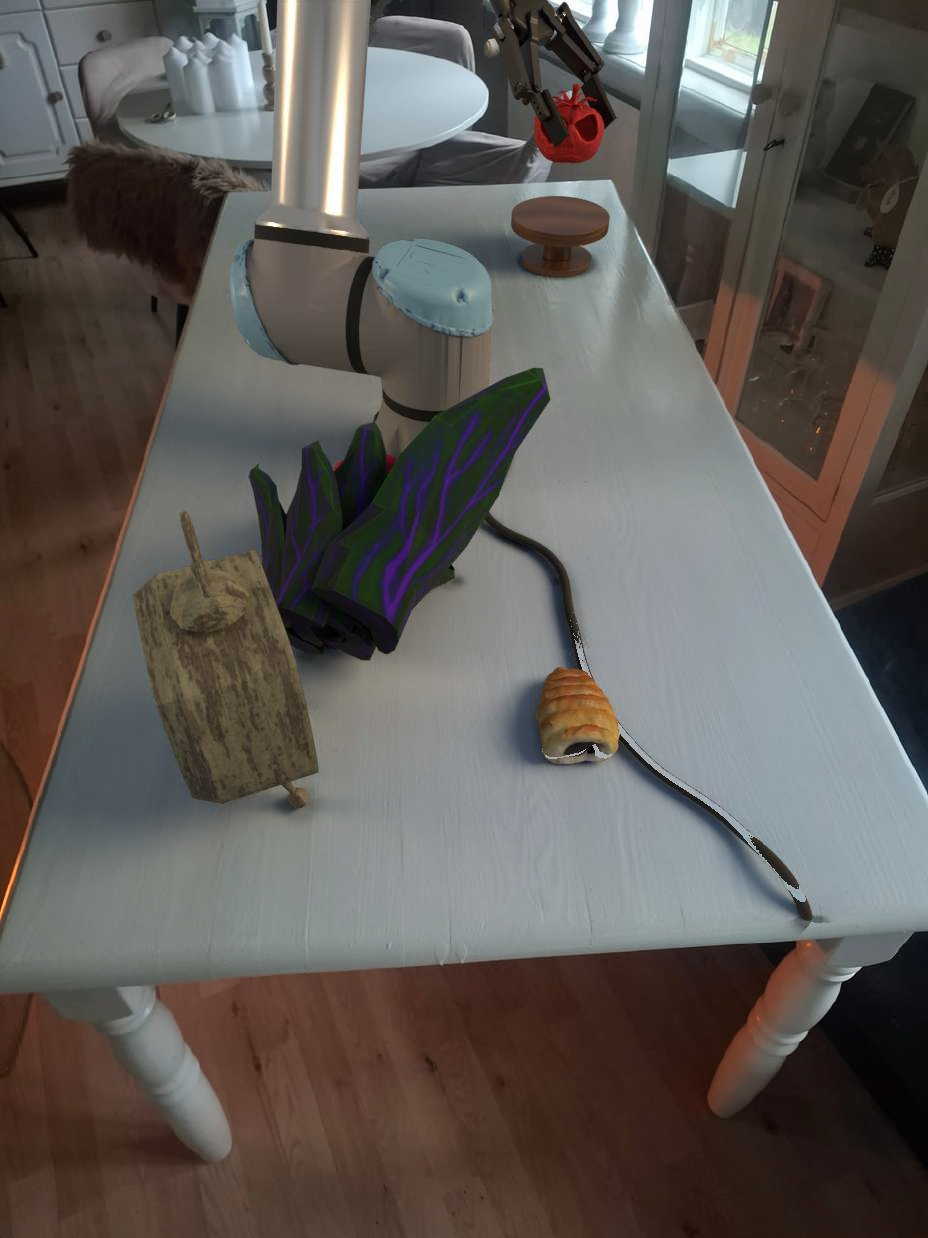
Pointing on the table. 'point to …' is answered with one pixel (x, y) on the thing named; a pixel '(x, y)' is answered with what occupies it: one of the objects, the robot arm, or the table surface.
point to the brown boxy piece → (225, 677)
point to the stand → (559, 233)
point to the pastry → (575, 718)
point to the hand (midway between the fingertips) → (586, 132)
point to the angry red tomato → (572, 130)
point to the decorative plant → (388, 519)
